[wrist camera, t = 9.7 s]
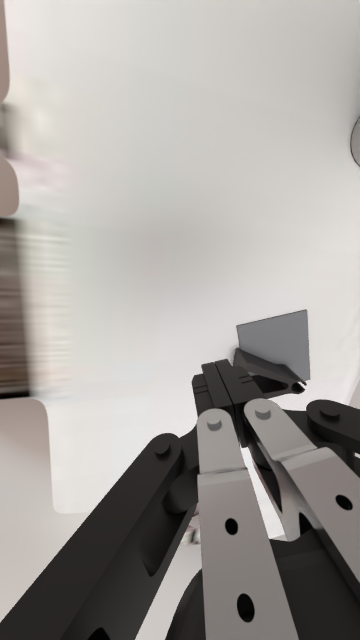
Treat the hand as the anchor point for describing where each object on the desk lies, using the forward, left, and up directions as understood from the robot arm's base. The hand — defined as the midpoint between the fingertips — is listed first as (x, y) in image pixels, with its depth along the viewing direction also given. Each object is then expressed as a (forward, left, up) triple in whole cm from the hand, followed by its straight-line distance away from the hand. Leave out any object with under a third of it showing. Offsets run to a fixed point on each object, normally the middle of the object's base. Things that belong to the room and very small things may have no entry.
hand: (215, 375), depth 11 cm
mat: (-16, +16, -27) cm, 35 cm away
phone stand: (-7, +17, -24) cm, 30 cm away
